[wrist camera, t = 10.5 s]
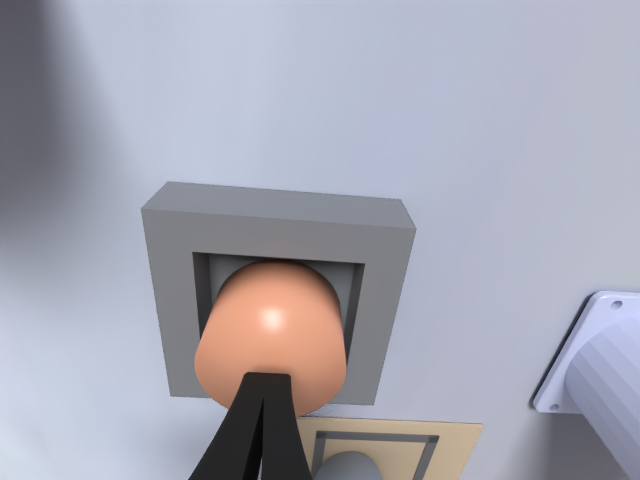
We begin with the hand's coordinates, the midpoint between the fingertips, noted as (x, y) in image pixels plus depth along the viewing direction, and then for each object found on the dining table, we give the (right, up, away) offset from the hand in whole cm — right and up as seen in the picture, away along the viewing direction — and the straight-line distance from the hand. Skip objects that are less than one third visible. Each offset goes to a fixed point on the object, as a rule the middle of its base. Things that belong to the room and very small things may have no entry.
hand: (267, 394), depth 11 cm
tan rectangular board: (+4, -12, +13) cm, 19 cm away
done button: (0, +2, +3) cm, 4 cm away
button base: (0, +3, +5) cm, 6 cm away
